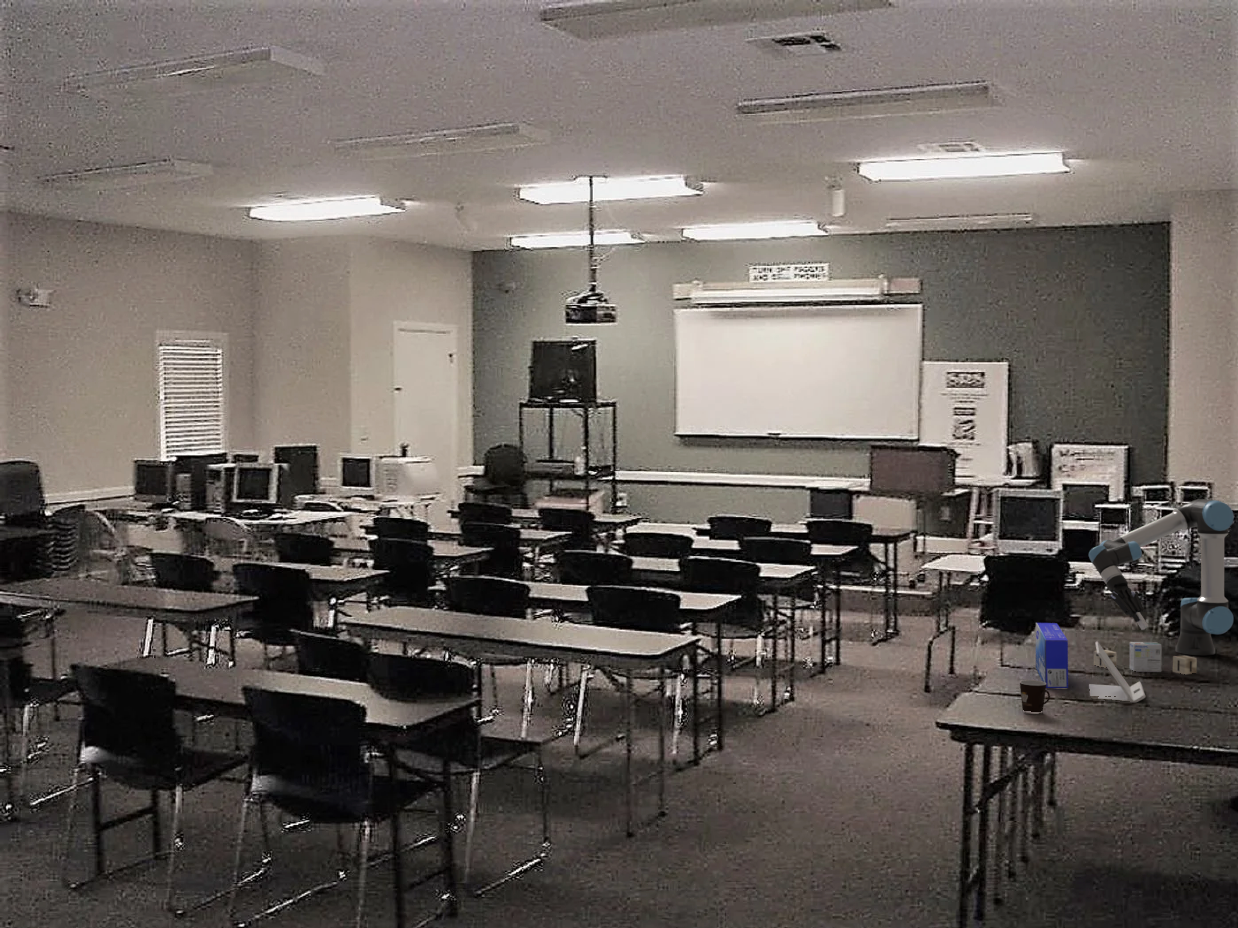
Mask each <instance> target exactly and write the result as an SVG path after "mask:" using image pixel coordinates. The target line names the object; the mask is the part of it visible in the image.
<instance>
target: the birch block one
mask: <svg viewBox="0 0 1238 928" xmlns="http://www.w3.org/2000/svg"><path fill="white" fill-rule="evenodd" d="M1197 659H1198V658H1197V657H1194V656H1189V655H1177V656H1175V655H1174V656H1172V673H1176V674H1180V673H1181V675H1184V674H1185V675H1193V674H1192V673H1196V674H1197V669H1198V667H1197V664H1198V663H1197V661H1198V660H1197Z"/></svg>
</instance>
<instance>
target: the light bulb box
mask: <svg viewBox="0 0 1238 928" xmlns="http://www.w3.org/2000/svg"><path fill="white" fill-rule="evenodd" d="M1129 669H1130V670H1131V671H1132V670H1133V671H1132V672H1134V671H1136V673H1139V672H1143V673H1146V672H1147V673H1148V672H1149V673H1161V672H1162V644H1161V643H1158V642H1157V641H1154V642H1153V641H1129Z"/></svg>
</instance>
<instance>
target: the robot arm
mask: <svg viewBox="0 0 1238 928" xmlns="http://www.w3.org/2000/svg"><path fill="white" fill-rule="evenodd" d="M1234 517H1235V516H1234V512H1233V510H1232V508H1231V507H1230V506H1229V504H1227V503H1225V502H1223V501H1221V500H1216V499H1215V500H1213V499H1205V498H1198V499H1194V500H1192V501H1190V502H1187V503H1184V504H1183V505H1181V506H1179V507H1176V508H1175V509H1172V512H1171V513H1169V514H1167V515H1164V516H1163V517H1160V518H1159V519H1156V520H1154V521H1151V522H1148V523H1146V524H1145V525H1143V526H1140V527H1138V528H1135V529H1134V530H1131V531H1129V532H1126V533H1124V534H1123V535H1120V536H1118V537H1115V538H1113V539H1107V540H1106V539H1105V540H1103V541H1102V542H1101V543H1100V544H1099V545H1097V546H1095V547H1092V548H1091V549H1090V550H1089V552H1088V557H1089V558H1088V559H1089V560H1090V561H1091V564H1092V565H1093V567H1094V568H1095V569H1096V571H1097V573H1098V574H1099V576H1100V577H1101V579H1102V580H1103V582H1104V583H1105V585H1106V587H1107V589H1108V590H1109V591H1110V593H1111V595H1110V596H1109V598H1110V599H1111V600H1112V601H1114V603H1116V605H1118V607H1119V608H1120V609H1121V611H1123V613H1124V614H1125V615H1126V616H1129V617H1130V618H1133V620H1134V621H1135V623H1137V625H1138V626H1139V629H1140V630H1141V631H1144V630H1146V629H1147V628H1148V626H1149V624H1148V623H1147V622H1146V620H1145V617H1144V615H1143V611H1144V607H1143V603H1142V601H1141V599H1140V597H1139V592H1138V590H1135V591H1132V589H1131V588H1130V586H1129V584H1128V581H1127V579H1126V578H1125V576H1124V575H1123V572H1122V571H1121V569H1120V568H1119V566H1121V565H1124V564H1128V563H1131V562H1135V561H1136V560H1138V559H1140V558H1142V555H1143V554H1142V547H1144V546H1147V545H1149V544H1151V543H1153V542H1155V541H1158V540H1160V539H1163V538H1164V537H1167V536H1169V535H1171V534H1174V533H1176V532H1179V531H1180V530H1181V531H1187V530H1189V529H1192V528H1196V530H1197V531H1196V532H1197V533H1196V534H1197V535H1199V536H1200V540H1201V541H1200V545H1201V546H1200V548H1201V549H1200V550H1201V551H1200V561H1201V562H1200V563H1201V564H1200V566H1201V567H1200V571H1201V573H1200V574H1201V575H1200V576H1201V577H1200V581H1201V582H1200V586H1201V587H1200V596H1199V597H1184V598H1182V599H1181V602H1180V634H1179V637H1178V639H1177V643H1176V644H1175V652H1176V653H1179V654H1182V655H1188V656H1189V655H1190V656H1212V655H1213V656H1214V655H1215V654H1216V648H1215V646H1214V642H1213V638H1212V635H1223V634H1225V633H1226V632H1228V631H1229V630H1230V629H1231V628H1232V626H1233V624H1234V615H1233V613H1232V611H1231V610H1230V609H1229V600H1228V599H1227V598H1226V597H1225V538H1226V537H1227V535H1229V529H1230V527H1231V526H1232V525H1233V523H1234Z"/></svg>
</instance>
